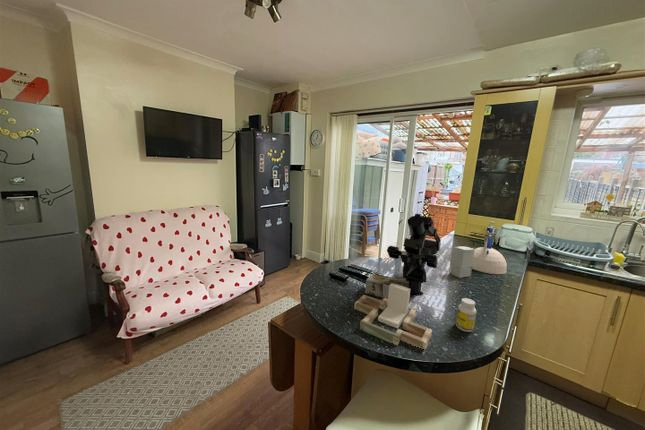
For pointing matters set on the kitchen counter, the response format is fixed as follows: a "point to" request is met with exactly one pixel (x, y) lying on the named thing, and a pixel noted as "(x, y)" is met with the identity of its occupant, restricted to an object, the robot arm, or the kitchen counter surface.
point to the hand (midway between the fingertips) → (405, 275)
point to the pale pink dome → (488, 259)
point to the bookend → (396, 306)
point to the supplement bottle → (466, 315)
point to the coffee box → (382, 285)
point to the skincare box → (462, 261)
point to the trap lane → (413, 336)
